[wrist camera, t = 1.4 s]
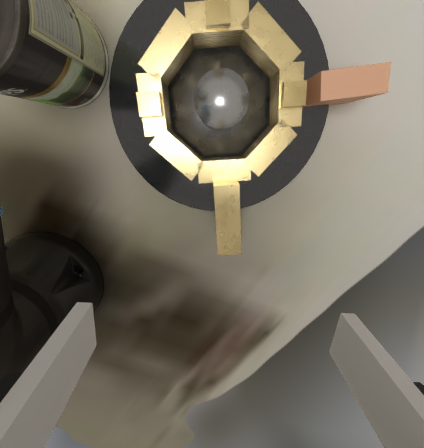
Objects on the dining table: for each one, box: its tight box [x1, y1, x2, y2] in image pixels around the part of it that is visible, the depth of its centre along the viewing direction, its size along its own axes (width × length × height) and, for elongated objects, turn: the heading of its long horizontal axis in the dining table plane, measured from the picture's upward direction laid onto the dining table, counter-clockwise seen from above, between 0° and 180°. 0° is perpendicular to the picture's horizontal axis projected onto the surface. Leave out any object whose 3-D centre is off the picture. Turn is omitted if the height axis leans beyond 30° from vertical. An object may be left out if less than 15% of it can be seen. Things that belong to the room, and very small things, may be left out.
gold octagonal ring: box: [136, 0, 307, 255], centre depth 25 cm, size 22×15×7 cm
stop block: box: [302, 62, 391, 107], centre depth 25 cm, size 6×2×7 cm, turn 97°
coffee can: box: [0, 0, 109, 108], centre depth 21 cm, size 10×10×14 cm
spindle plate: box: [109, 0, 329, 211], centre depth 26 cm, size 24×24×7 cm
